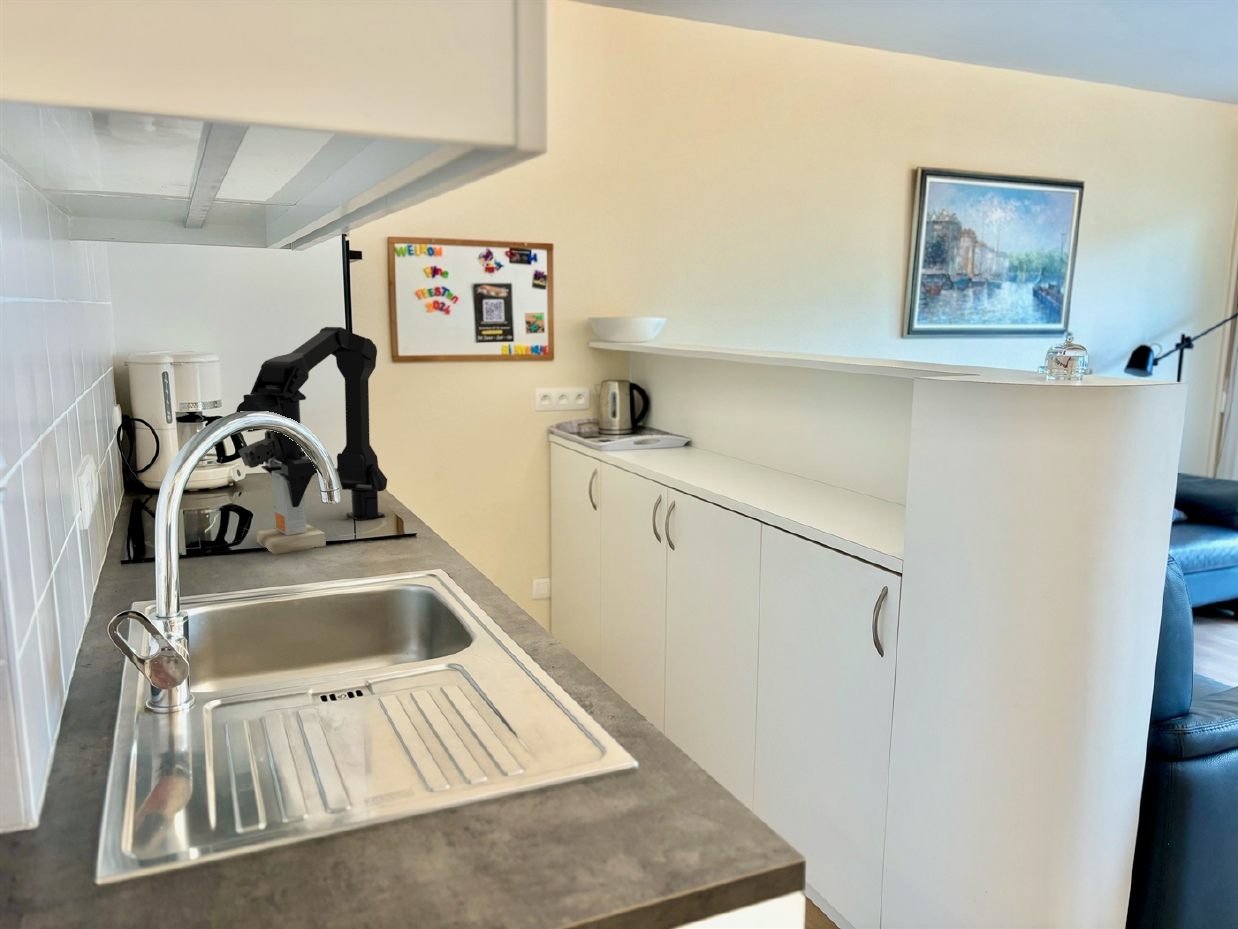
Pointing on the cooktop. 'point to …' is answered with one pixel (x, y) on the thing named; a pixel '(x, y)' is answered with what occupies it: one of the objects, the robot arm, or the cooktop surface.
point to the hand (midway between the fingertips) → (289, 504)
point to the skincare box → (287, 508)
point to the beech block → (290, 540)
